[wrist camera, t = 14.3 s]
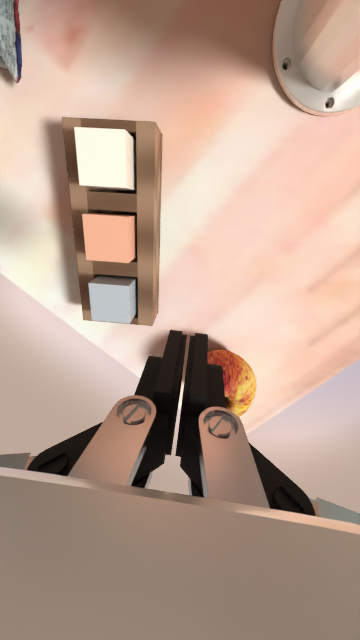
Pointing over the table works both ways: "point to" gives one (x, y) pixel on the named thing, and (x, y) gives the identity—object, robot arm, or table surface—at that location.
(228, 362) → the apple
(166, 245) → the table surface
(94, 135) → the key cream
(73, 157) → the frame block
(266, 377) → the table surface
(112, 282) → the grey block
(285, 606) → the robot arm
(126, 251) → the key terracotta
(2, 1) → the packaged food
